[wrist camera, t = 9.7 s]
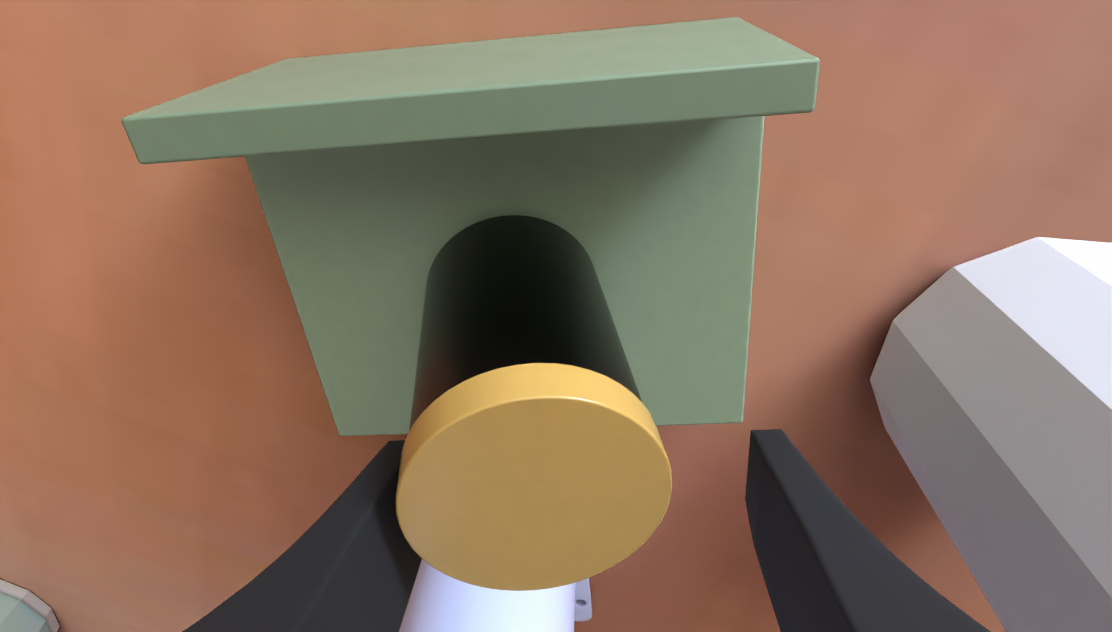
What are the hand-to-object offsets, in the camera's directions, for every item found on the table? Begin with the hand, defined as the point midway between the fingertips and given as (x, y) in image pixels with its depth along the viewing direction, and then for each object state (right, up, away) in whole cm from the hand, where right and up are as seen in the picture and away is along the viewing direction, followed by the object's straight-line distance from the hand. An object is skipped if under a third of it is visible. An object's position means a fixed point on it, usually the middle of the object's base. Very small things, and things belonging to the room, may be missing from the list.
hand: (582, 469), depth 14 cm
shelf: (-2, +7, +8) cm, 11 cm away
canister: (-2, +4, +5) cm, 6 cm away
